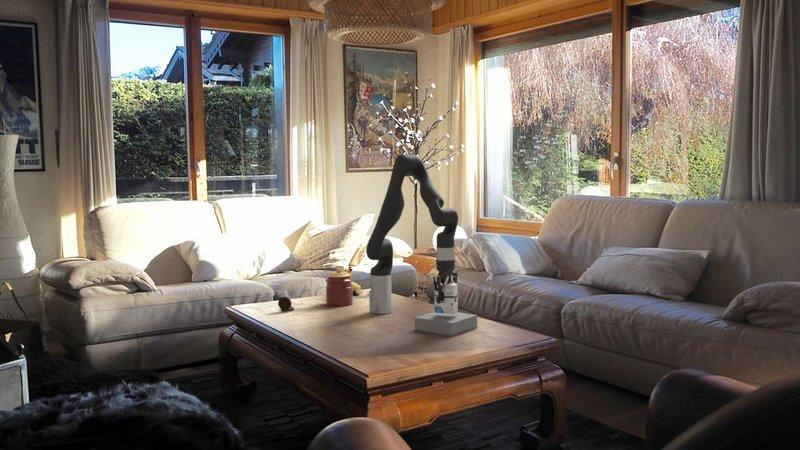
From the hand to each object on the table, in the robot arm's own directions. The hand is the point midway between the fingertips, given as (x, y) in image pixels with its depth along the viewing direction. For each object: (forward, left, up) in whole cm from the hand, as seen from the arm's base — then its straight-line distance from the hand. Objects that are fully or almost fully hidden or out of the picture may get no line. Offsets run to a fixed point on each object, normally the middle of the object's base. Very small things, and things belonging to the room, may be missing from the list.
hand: (445, 299), depth 281 cm
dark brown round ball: (-81, -13, -12) cm, 83 cm away
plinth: (0, 0, -12) cm, 12 cm away
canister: (-71, +12, -12) cm, 73 cm away
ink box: (0, 0, -5) cm, 5 cm away
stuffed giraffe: (-81, +33, -12) cm, 88 cm away
